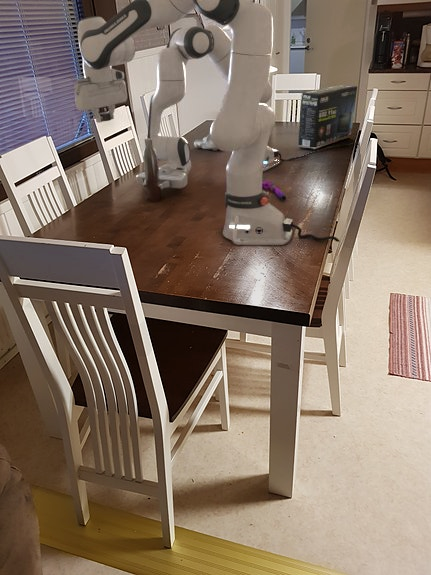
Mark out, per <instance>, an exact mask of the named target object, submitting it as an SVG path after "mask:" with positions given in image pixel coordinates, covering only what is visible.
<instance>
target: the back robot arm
mask: <svg viewBox="0 0 431 575" xmlns="http://www.w3.org/2000/svg"><path fill="white" fill-rule="evenodd" d="M230 49H231V38H230V36H229V35H228V34H227V33H226V32H225V31H224V30H223V28H221V27H220V26H219V25H217V24H214V23H213V24H208V25H207V26H205V27H204V28H203V27H202V26H197V25H196V26H191V25H190V26H189V25H188V26H184V27H180V28H177V29H175V30H173V31H172V32H171V34H170V36H169V39H168V42H167V45H166V46H165V48H163V49H161V50H160V51H159V53H158V55H157V60H156V61H157V62H156V83H157V84H156V89H155V92H154V93H153V94H152V95H151V97H150V100H149V106H148V118H147V133H146V138H152V145H153V147H154V149H155V150H156V152H157V158H158V161H167V162H166V163H164V164H163V165H161V166H159V167H158V168H159V178H160V184H158V188H159V189H161V190H163V189H166V188H168V189H169V188H170V189H183V188H185V187H186V186H188V181H189V180H188V179H189V178H188V175H189V173H190V171H191V169H192V161H191V148H190V145H189V143H188V141H187V140H186V138H184V137H183V136H166V135H161V123H162V121H161V120H162V115H163V112H164V111H165V110H166V109H168V108H170V107H172V106H174V105H177V104H178V103H180V102H182V100H183V98H185V95H186V92H187V91H186V90H187V79H186V78H187V76H186V67H187V64H188V62H189V61H190V60H198V59H202V58H204V57H207V58H208V59H209V61H210V62H211V63H212V65H213V66H214V67H215V69H216V70H217V72H218V73H219V74H220V76H222V78H223V79H224V80H226V81H227V82H228V74H229V62H230ZM272 95H273V86H272V84H271V82H270V81H269V82H268V86H267V88H266V90H265V92H264V93H263V95H262V98H261V100H260V103H262V104H267V103H268V102H269V101H270V100H271V98H272V97H273V96H272ZM355 142H356V141H355ZM351 145H353V144H351ZM351 145H350V146H351ZM354 145H356V146H359V145H360V144H359V143H358V142H356V143H355V144H354ZM314 151H315V152H313V151H311V152H312V153H310V152H308V153H309V154H308V153H306V154H307V155H305V154H303V155H304V156H302V155H300V156H301V157H299V156H295V157H296V158H294V157H292V158H288V159H284V158H282V153H280V152H279V150H277V149H274V148H271V147H270V146H269V145H267V149H266V153H265V158H264V163H263V167H264V168H263V172H267V171H268V170H270V169H272V168H273V167H276V166H277V165H280V161H281V162H288V161H290V162H291V161H295V160H298V159H302V158H305V157H308V156H311V155H313V154H315V153H318V152H317V151H316V150H314ZM278 157H279V160H280V161H279V162H278V163H276V164H274V165H272V166H270V167H269V166H268V167H266V165H267V164H269V163H271V162H273V161H277V160H278V159H276V160H274V159H275V158H278ZM280 158H282V159H280ZM265 167H266V168H265ZM135 177H136V178H135V179H136V183H137V185H140V186H142V187H143V188H147V187H146V178H145V171H143V172H140V173H139V174H137V175H136V176H135Z"/></svg>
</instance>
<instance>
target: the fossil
mask: <svg viewBox="0 0 431 575" xmlns="http://www.w3.org/2000/svg"><path fill="white" fill-rule="evenodd" d="M193 145H194V147H195V148H197V149H204V150H212V151H214V152H215V151H218V150H219V149H218V148H217V147H216V146H215V145H214V143H213V142H212V139H211V135H210V132H208V134H207V135H206V136H204V137H203V138H202V139H196V140H195V141H194V142H193Z"/></svg>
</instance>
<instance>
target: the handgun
mask: <svg viewBox="0 0 431 575" xmlns="http://www.w3.org/2000/svg"><path fill="white" fill-rule="evenodd" d="M262 188H264V189H267V190H268V189H269V190H270V191H271V192H273V193H275V194H276V195H277V196H278V197H279V198H280V200H281V201H283V202H284V201H286V200H287V196H286V195H285V194H284V193H283V191H281V189H279V188H278V187H277V186H276V185H275V184H274V183H273V181H272V180H265V181H262Z"/></svg>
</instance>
